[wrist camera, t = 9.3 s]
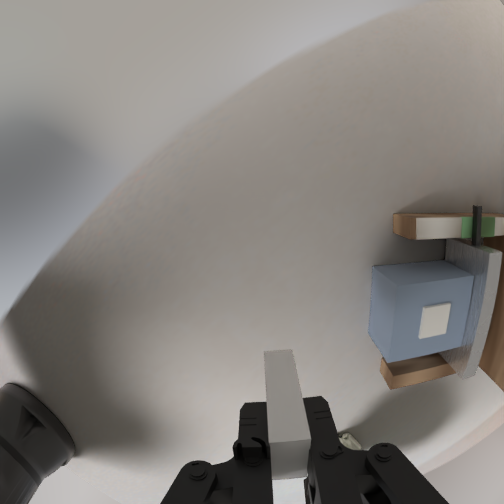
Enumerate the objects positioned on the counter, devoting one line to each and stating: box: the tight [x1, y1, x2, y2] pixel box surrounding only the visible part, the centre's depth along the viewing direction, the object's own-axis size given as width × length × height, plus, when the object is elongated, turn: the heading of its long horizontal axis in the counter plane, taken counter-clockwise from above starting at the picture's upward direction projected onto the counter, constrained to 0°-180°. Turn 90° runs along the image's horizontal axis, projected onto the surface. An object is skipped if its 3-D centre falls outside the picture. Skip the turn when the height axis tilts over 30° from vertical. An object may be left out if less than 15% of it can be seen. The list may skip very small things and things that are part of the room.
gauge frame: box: [380, 213, 504, 391], centre depth 18 cm, size 12×15×8 cm
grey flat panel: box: [438, 205, 502, 379], centre depth 19 cm, size 2×13×6 cm, turn 4°
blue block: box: [368, 260, 474, 363], centre depth 20 cm, size 7×6×5 cm
